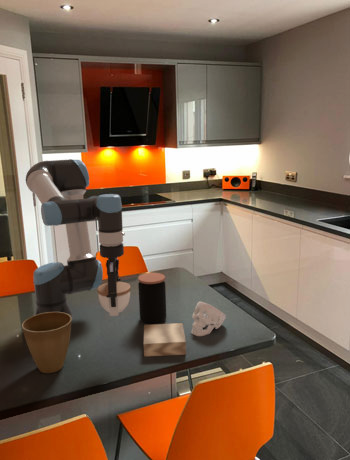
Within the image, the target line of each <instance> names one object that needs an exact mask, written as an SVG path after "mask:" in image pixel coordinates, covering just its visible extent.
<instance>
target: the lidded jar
mask: <svg viewBox="0 0 350 460" xmlns="http://www.w3.org/2000/svg"><path fill="white" fill-rule="evenodd" d="M131 288H132V286H131V285H130V284H129V283H128V282H124V281H121V282H117V295H118V313H122V312H123V311H125V309H126V308H127V307H128V306H129V303H130V299H131ZM96 290H97V297H98V298H97V299H98V302H99V304H100V306H101V308H102V309H104V311H106V312H107V313H109V314H110V310H109V297H106V295H108V282H104V283H101V285H100V286H99V287H98V288H96Z"/></svg>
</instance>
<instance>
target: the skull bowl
mask: <svg viewBox="0 0 350 460" xmlns="http://www.w3.org/2000/svg"><path fill="white" fill-rule="evenodd" d="M191 318H192V319H193V322H192V325H191V326H192V329H191V334H192V335H194V336H196V337H203V336H207V335H210V334H211V332H212V331H213V329H214V328H215V330H217V329H219V328H220V327H221V326H222V325H223V323H224V321H225V320H226V314H225V313H224V312H222V311H221V310H219V309H218V308H216V306H215V307H214V306H213V305H211V304H209V303H206V302H203V301H198V302H197V304H196V306H195V307H194V311H193V313H192V316H191ZM203 328H205V329H203Z"/></svg>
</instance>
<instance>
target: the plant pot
mask: <svg viewBox="0 0 350 460" xmlns="http://www.w3.org/2000/svg"><path fill="white" fill-rule="evenodd" d="M71 321H72V322H73V320H72V318H71V316H70V315H69V314H67V313H63V312H46V313H41V314H37V315H32V316H30V317H28V318H26V319H25V320H24V321H23V322H22V324H21V328H22V331H23V336H24V339H25V342H26V345H27V347H28V350H29V352H30V354H31V357H32V360H33V362H34V363H35V365H36V367H37V368H38V370H39V371H40V372H41V373H42V374H43V373H44V374H52V373H57V372H59V371H60V370H62V369H63V367H64V364H65V361H66V358H67V354H68V349H69V345H70V339H71V332H72V331H71V330H72V322H71Z"/></svg>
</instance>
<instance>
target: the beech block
mask: <svg viewBox="0 0 350 460" xmlns="http://www.w3.org/2000/svg"><path fill="white" fill-rule="evenodd" d="M180 355H187V342H186V337H185V330H184V325H183V323H182V322H180V323H179V322H178V323H176V322H175V323H160V324H154V325H148V324H144V325H143V357H159V356H161V357H162V356H180Z"/></svg>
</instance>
